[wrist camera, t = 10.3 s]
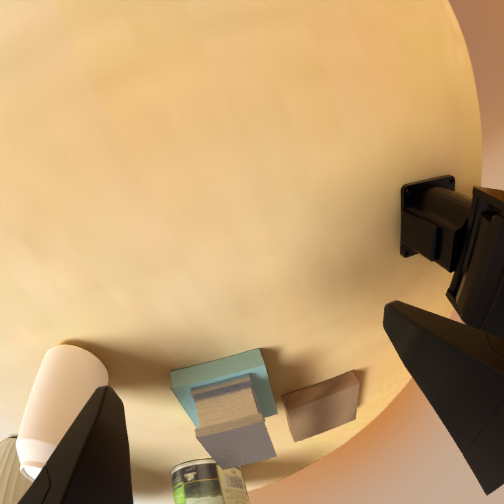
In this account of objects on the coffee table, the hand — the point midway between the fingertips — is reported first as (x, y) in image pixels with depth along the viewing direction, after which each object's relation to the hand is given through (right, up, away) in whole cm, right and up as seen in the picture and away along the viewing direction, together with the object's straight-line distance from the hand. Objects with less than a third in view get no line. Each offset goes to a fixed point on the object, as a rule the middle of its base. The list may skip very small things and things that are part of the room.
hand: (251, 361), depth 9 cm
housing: (-2, -10, +16) cm, 19 cm away
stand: (-2, -10, +18) cm, 21 cm away
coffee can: (-6, -28, +26) cm, 39 cm away
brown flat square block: (+8, -14, +23) cm, 28 cm away
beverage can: (-15, -7, +14) cm, 22 cm away
